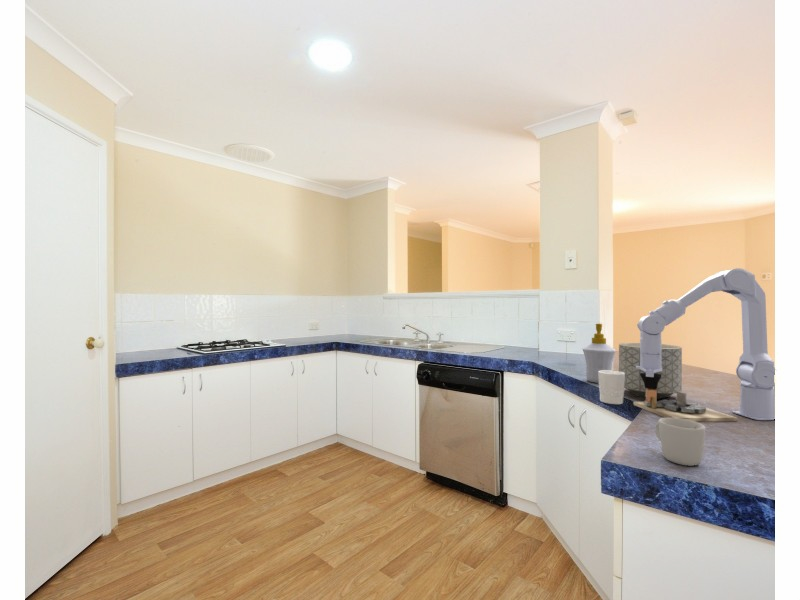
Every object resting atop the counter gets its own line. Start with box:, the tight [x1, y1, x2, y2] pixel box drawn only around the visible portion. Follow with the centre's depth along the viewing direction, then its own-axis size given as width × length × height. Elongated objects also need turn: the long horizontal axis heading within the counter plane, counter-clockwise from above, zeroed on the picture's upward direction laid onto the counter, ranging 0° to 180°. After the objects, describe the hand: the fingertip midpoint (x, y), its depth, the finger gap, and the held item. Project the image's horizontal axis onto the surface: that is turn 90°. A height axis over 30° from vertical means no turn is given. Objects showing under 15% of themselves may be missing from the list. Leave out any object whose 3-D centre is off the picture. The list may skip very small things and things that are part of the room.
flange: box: [643, 388, 707, 413], centre depth 118 cm, size 15×11×5 cm
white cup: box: [598, 370, 625, 405], centre depth 130 cm, size 8×8×10 cm
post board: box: [633, 391, 738, 422], centre depth 118 cm, size 18×18×6 cm
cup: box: [654, 417, 707, 467], centre depth 82 cm, size 11×8×8 cm
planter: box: [618, 342, 683, 399], centre depth 139 cm, size 19×19×18 cm
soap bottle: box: [581, 323, 617, 384], centre depth 164 cm, size 13×13×25 cm
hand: (650, 396), depth 122 cm, fingers closed
